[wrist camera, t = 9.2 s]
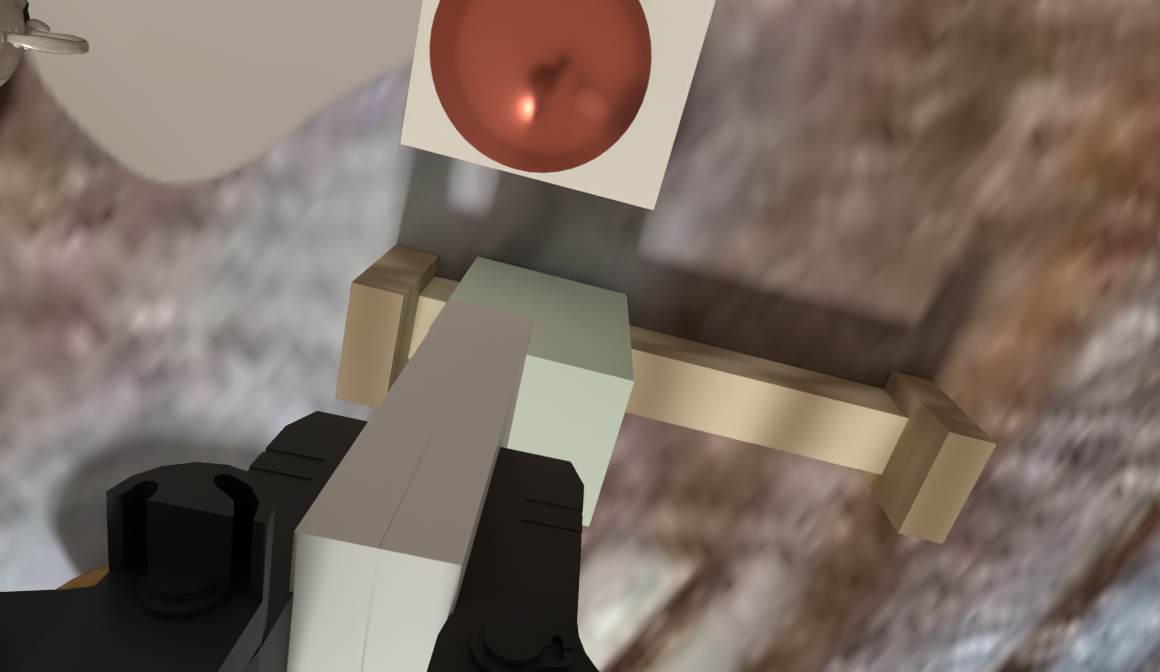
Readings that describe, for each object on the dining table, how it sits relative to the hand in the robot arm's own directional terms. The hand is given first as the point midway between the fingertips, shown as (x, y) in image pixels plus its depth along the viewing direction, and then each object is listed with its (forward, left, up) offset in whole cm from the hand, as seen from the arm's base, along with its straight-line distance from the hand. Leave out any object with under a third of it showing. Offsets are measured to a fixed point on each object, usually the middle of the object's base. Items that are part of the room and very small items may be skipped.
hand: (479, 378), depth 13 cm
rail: (-7, +7, -20) cm, 22 cm away
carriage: (-1, +7, -20) cm, 21 cm away
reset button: (0, -5, -8) cm, 9 cm away
